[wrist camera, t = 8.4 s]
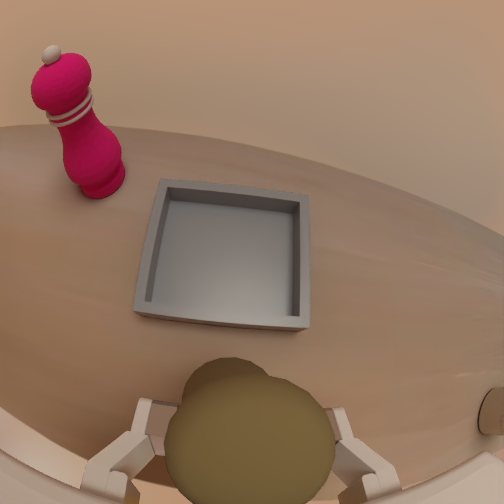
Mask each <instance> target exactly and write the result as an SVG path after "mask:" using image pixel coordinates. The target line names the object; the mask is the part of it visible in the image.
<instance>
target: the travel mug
mask: <svg viewBox="0 0 504 504" xmlns="http://www.w3.org/2000/svg"><path fill="white" fill-rule="evenodd" d="M479 428H480V431H481V432H482V433H483V434H492V435H504V387H503V388H494V389H492V390H491V391H490V392H489V393H488V395H487V396H486V398H485V400H484V402H483V405H482V408H481V411H480V416H479Z"/></svg>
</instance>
